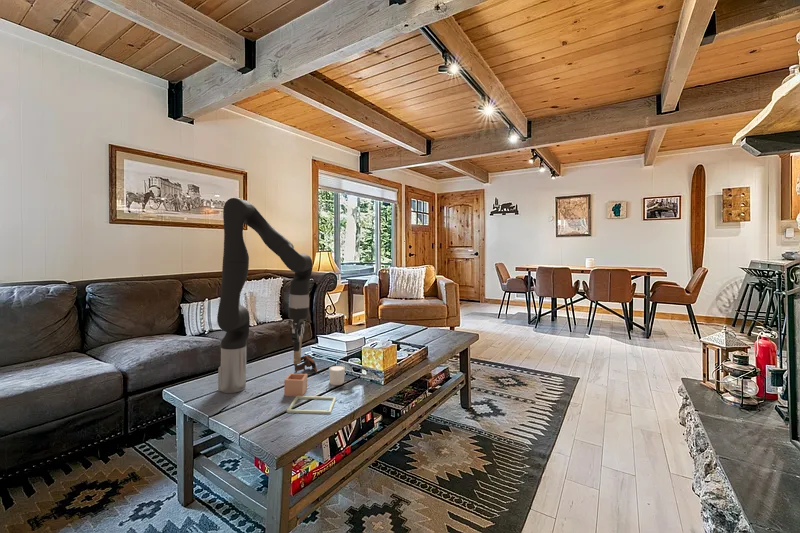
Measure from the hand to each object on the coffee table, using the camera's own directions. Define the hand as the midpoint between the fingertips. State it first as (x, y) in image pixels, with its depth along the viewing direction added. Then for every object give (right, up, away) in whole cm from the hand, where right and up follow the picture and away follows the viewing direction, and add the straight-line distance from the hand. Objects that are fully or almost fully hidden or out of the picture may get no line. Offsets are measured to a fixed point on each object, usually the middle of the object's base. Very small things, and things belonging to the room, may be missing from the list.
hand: (297, 349), depth 135 cm
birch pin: (0, -5, 0) cm, 5 cm away
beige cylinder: (+13, -18, +13) cm, 26 cm away
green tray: (+8, -19, -9) cm, 22 cm away
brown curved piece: (-4, -17, +27) cm, 32 cm away
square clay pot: (-1, -18, +1) cm, 18 cm away
